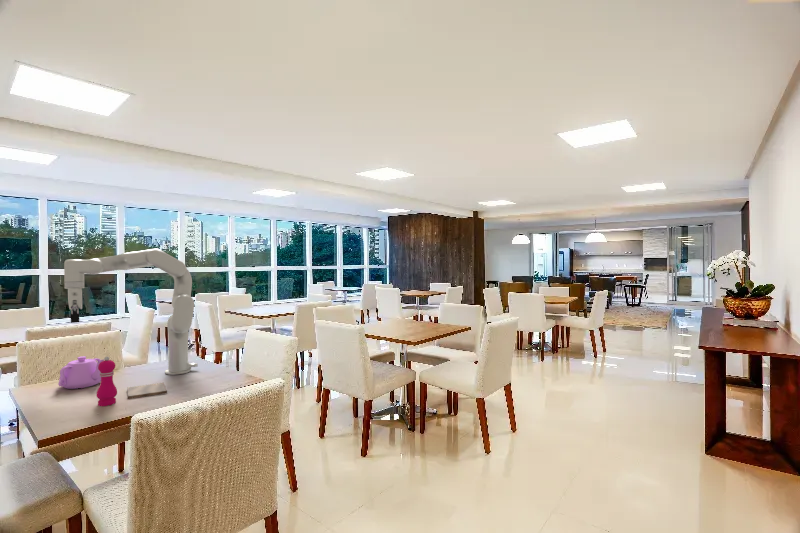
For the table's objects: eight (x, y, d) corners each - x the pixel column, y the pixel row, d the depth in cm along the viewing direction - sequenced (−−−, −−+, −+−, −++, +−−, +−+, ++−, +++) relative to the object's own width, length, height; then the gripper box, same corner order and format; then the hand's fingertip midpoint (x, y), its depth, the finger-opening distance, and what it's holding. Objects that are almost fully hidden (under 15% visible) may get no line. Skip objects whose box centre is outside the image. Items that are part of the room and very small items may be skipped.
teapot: (83, 394, 192) (83, 363, 192) (44, 391, 196) (43, 361, 196) (124, 380, 213) (124, 353, 213) (88, 378, 218) (87, 351, 217)
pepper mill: (100, 408, 175) (99, 359, 174) (93, 404, 179) (93, 356, 179) (120, 403, 180) (119, 356, 180) (113, 399, 185) (113, 353, 184)
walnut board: (164, 384, 207) (164, 382, 207) (167, 393, 194) (167, 390, 194) (127, 390, 198) (127, 387, 198) (128, 399, 186) (128, 396, 186)
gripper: (84, 286, 198) (85, 322, 199) (83, 284, 212) (84, 318, 212) (64, 286, 194) (64, 324, 194) (64, 284, 207) (65, 319, 208)
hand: (74, 321), depth 203 cm, fingers open, 9 cm apart
